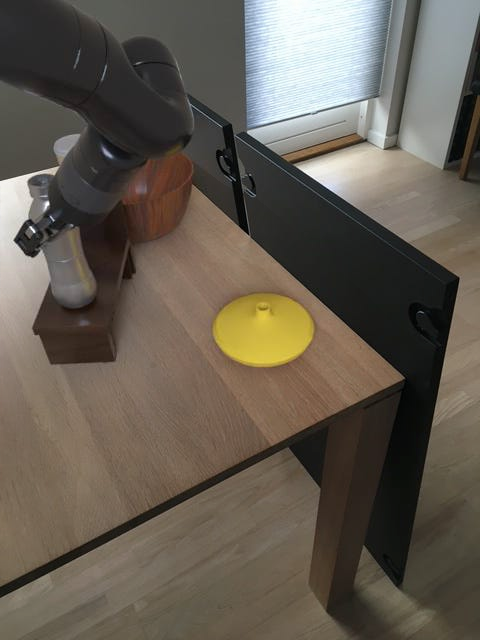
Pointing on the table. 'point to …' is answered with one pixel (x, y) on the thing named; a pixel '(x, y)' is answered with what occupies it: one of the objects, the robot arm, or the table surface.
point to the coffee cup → (65, 146)
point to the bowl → (158, 197)
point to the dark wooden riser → (95, 318)
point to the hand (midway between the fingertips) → (52, 237)
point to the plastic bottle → (63, 254)
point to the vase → (263, 330)
